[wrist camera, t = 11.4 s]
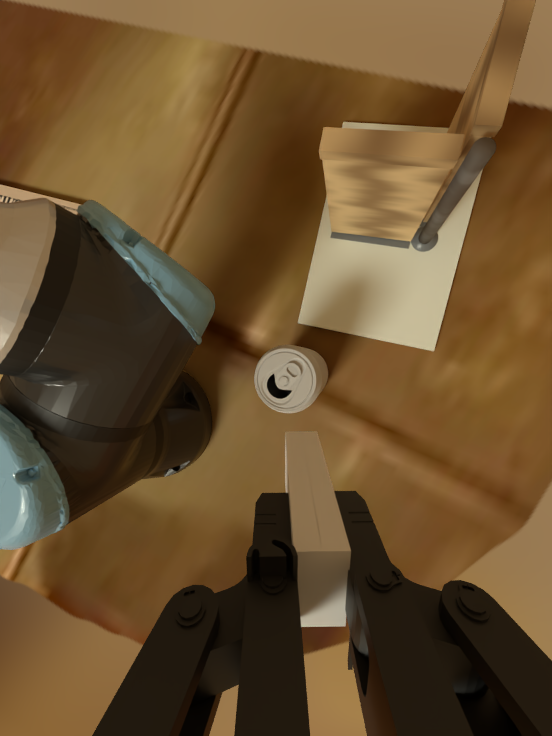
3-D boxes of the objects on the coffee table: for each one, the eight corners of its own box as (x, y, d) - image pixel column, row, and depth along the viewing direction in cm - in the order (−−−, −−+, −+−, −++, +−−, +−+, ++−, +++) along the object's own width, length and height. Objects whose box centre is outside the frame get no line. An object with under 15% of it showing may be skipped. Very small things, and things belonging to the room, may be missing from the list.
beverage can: (268, 374, 40) (236, 382, 28) (301, 337, 39) (281, 329, 27) (304, 408, 39) (286, 431, 27) (339, 371, 38) (336, 378, 26)
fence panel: (433, 231, 34) (499, 136, 19) (430, 245, 34) (492, 162, 19) (333, 219, 36) (323, 126, 22) (330, 233, 36) (318, 150, 22)
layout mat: (298, 323, 39) (297, 322, 38) (343, 125, 37) (343, 121, 36) (432, 351, 35) (434, 351, 35) (490, 134, 33) (493, 129, 32)
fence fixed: (435, 224, 34) (502, 126, 20) (420, 222, 34) (474, 124, 20) (457, 139, 33) (544, -31, 19) (442, 138, 34) (515, -30, 19)
